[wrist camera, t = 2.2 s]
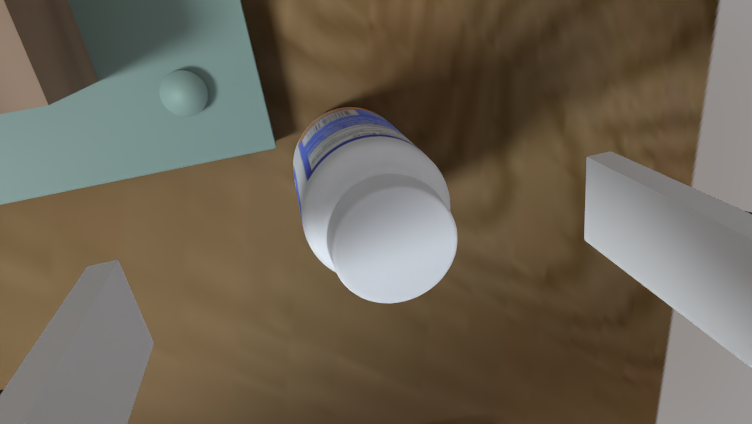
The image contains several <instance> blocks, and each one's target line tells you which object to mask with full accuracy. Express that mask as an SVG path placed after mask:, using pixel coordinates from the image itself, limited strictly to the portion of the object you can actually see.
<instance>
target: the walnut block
mask: <svg viewBox="0 0 752 424" xmlns="http://www.w3.org/2000/svg"><path fill="white" fill-rule="evenodd" d="M97 82H99V81H98V79H97V76H96V73H95V71H94V68H93V65H92V63H91V60H90V57H89V55H88V52H87V49H86V47H85V44H84V42H83V39H82V36H81V34H80V31H79V28H78V26H77V23H76V20H75V18H74V15H73V12H72V10H71V7H70V4H69V2H68V0H0V114H4V113H10V112H15V111H21V110H26V109H32V108H37V107H42V106H48V105H50V104H53V103H55V102H57V101H59V100H61V99H63V98H65V97H67V96H69V95H71V94H74V93H76V92H78V91H80V90H82V89H84V88H86V87H88V86H90V85H92V84H94V83H97Z"/></svg>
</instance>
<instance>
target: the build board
mask: <svg viewBox="0 0 752 424" xmlns="http://www.w3.org/2000/svg"><path fill="white" fill-rule="evenodd" d="M68 2H69V4H70V7H71V10H72V12H73V15H74V18H75V20H76V23H77V26H78V28H79V31H80V34H81V36H82V39H83V42H84V44H85V47H86V49H87V52H88V55H89V57H90V60H91V63H92V65H93V68H94V71H95V73H96V76H97V79H98V81H99V82H97V83H94V84H92V85H90V86H88V87H86V88H84V89H82V90H80V91H78V92H76V93H74V94H71V95H69V96H67V97H65V98H63V99H61V100H59V101H57V102H55V103H53V104H50V105H48V106H42V107H37V108H32V109H26V110H21V111H15V112H10V113H4V114H0V205H1V204H6V203H11V202H16V201H21V200H25V199H30V198H35V197H40V196H45V195H50V194H55V193H60V192H64V191H69V190H74V189H79V188H84V187H89V186H94V185H99V184H103V183H108V182H113V181H118V180H123V179H128V178H133V177H138V176H142V175H147V174H152V173H157V172H162V171H167V170H172V169H177V168H181V167H186V166H191V165H196V164H201V163H206V162H211V161H216V160H220V159H225V158H230V157H235V156H240V155H245V154H250V153H255V152H259V151H264V150H269V149H274V148H276V143H275V138H274V134H273V130H272V126H271V121H270V117H269V113H268V109H267V105H266V101H265V97H264V93H263V89H262V84H261V80H260V76H259V72H258V68H257V64H256V60H255V56H254V52H253V48H252V43H251V39H250V35H249V31H248V27H247V23H246V19H245V15H244V11H243V7H242V2H241V0H68Z"/></svg>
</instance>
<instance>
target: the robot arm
mask: <svg viewBox="0 0 752 424" xmlns="http://www.w3.org/2000/svg"><path fill="white" fill-rule="evenodd" d="M584 240H585V241H586V242H587V243H589V244H590V245H591V246H593V247H594V248H595V249H597V250H598V251H599V252H600V253H602V254H603V255H604V256H606V257H607V258H608V259H610V260H611V261H612V262H613V263H615V264H616V265H617V266H619V267H620V268H621V269H623V270H624V271H625V272H626V273H628V274H629V275H630V276H632V277H633V278H634V279H636V280H637V281H638V282H640V283H641V284H642V285H643V286H645V287H646V288H647V289H649V290H650V291H651V292H653V293H654V294H655V295H656V296H658V297H659V298H660V299H662V300H663V301H664V302H666V303H667V304H668V305H670V306H671V307H672V308H673V309H675V310H676V311H677V312H679V313H680V314H681V315H683V316H684V317H685V318H687V319H688V320H689V321H691V322H692V323H693V324H694V325H696V326H697V327H698V328H699V329H701V330H702V331H704V332H705V333H706V334H707V335H709V336H710V337H711V338H713V339H714V340H715V341H716V342H718V343H719V344H720V345H722V346H723V347H724V348H726V349H727V350H728V351H729V352H731V353H732V354H733V355H735V356H736V357H737V358H739V359H740V360H741V361H743V362H744V363H746V365H748V366H749V367H750V368H752V213H751V212H747V211H743V210H741V209H739V208H736V207H734V206H732V205H730V204H728V203H725V202H723V201H721V200H719V199H716V198H714V197H712V196H710V195H707V194H705V193H703V192H701V191H699V190H696V189H694V188H692V187H690V186H687V185H685V184H683V183H681V182H678V181H676V180H674V179H672V178H669V177H667V176H665V175H663V174H661V173H658V172H656V171H654V170H652V169H649V168H647V167H645V166H643V165H640V164H638V163H636V162H634V161H632V160H629V159H627V158H625V157H623V156H620V155H618V154H616V153H614V152H611V151H610V152H605V153H601V154H596V155H592V156H587V163H586V196H585V228H584ZM153 345H154V343H153V340H152V338H151V335H150V333H149V331H148V328H147V326H146V324H145V321H144V319H143V317H142V314H141V312H140V310H139V307H138V305H137V303H136V300H135V298H134V296H133V293H132V291H131V289H130V286H129V284H128V282H127V279H126V277H125V275H124V272H123V270H122V268H121V265H120V263H119V261H118V260H114V261H109V262H105V263H100V264H96V265H91V266H87V267H86V269H85V270H84V272H83V273H82V275H81V276H80V278H79V279H78V281H77V282H76V284H75V285H74V287H73V288H72V290H71V291H70V293H69V294H68V296H67V297H66V298H65V300H64V301H63V303H62V304H61V306H60V307H59V309H58V310H57V312H56V313H55V315H54V316H53V318H52V319H51V321H50V322H49V324H48V325H47V327H46V328H45V330H44V331H43V332H42V334H41V335H40V337H39V338H38V340H37V341H36V343H35V344H34V346H33V347H32V349H31V350H30V352H29V353H28V355H27V356H26V358H25V359H24V361H23V362H22V364H21V365H20V366H19V368H18V369H17V371H16V372H15V374H14V375H13V377H12V378H11V380H10V381H9V383H8V384H7V386H6V387H5V389H3V390H0V424H127V423H128V420H129V417H130V414H131V411H132V408H133V405H134V402H135V399H136V396H137V393H138V390H139V387H140V384H141V381H142V378H143V375H144V372H145V369H146V366H147V363H148V360H149V357H150V354H151V351H152V348H153Z"/></svg>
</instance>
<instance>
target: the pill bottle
mask: <svg viewBox="0 0 752 424" xmlns="http://www.w3.org/2000/svg"><path fill="white" fill-rule="evenodd" d="M293 174H294V180H295V185H296V190H297V196H298V201H299V207H300V213H301V219H302V224H303V229H304V233H305V236H306V239H307V241H308V243H309V245H310V247H311V249H312V251H313V252H314V254H315V255H316V256H317V257H318V259H319V260H320V261H321V262H322V263H323V264H324V265H326V266H327V267H328V268H330V269H331V270H333V271H334V272H336V273H337V275H338V277H339V278H340V280H341V281H342V282H343V284H344V285H345V286H346V287H347V288H348V289H349V290H350V291H352V292H353V293H355V294H356V295H358V296H360V297H361V298H364V299H366V300H369V301H373V302H378V303H398V302H403V301H407V300H410V299H413V298H415V297H418V296H420V295H422V294H423V293H425V292H427V291H428V290H430V289H431V288H432V287H434V286H435V285H436V284H437V283H438V282H439V281H440V280H441V279H442V278H443V277H444V275H445V274H446V273H447V271H448V269H449V268H450V266H451V264H452V262H453V259H454V257H455V253H456V249H457V241H458V237H457V228H456V224H455V221H454V218H453V216H452V214H451V212H450V197H449V192H448V188H447V185H446V182H445V180H444V178H443V176H442V174H441V172H440V171H439V169H438V168H437V166H436V165H435V164H434V163H433V162H432V161H431V160H430V159H429V158H428V157H427V156H426V155H425V154H424V153H423V152H422V151H421V150H420V149H419V148H418V147H416V146H415V145H414V144H413V143H412V142H411V141H410V140H409V139H407V138H406V137H405V136H404V135H403V134H402V133H401V132H400V131H398V130H397V129H396V128H395V127H394V126H393V125H392V124H391V123H390V122H388V121H387V120H386V119H384V118H383V117H382V116H380V115H378V114H376V113H374V112H372V111H369V110H366V109H362V108H356V107H345V108H338V109H334V110H331V111H329V112H327V113H325V114H323V115H321V116H320V117H318V118H317V119H315V120H314V121H313V122H312V123H311V124H310V125H309V126H308V127H307V128H306V130H305V131H304V132H303V134H302V136H301V137H300V139H299V141H298V143H297V146H296V149H295V153H294V159H293Z"/></svg>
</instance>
